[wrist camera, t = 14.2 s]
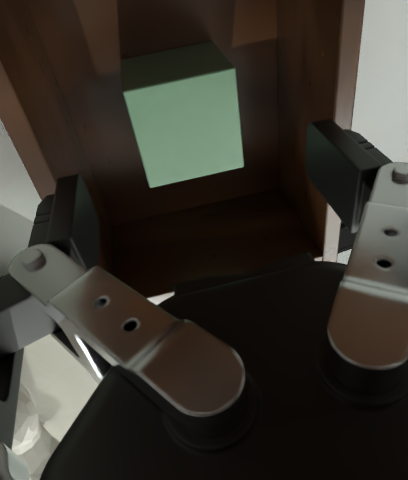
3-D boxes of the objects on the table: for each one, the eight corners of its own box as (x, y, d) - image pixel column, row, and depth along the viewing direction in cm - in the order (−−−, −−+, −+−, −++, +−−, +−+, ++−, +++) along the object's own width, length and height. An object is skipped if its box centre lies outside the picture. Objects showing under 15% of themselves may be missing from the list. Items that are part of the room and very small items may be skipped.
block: (143, 145, 21) (149, 189, 17) (120, 59, 18) (122, 91, 15) (223, 128, 21) (244, 167, 18) (213, 39, 18) (235, 66, 15)
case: (287, 188, 25) (337, 263, 20) (103, 230, 25) (101, 320, 19) (286, -129, 16) (383, -156, 10) (-18, -72, 15) (-94, -67, 9)
